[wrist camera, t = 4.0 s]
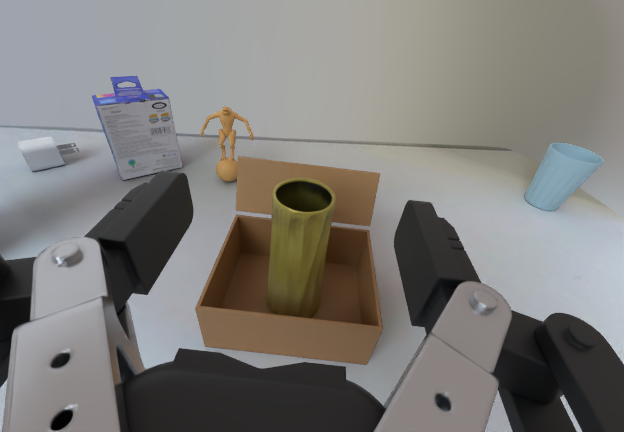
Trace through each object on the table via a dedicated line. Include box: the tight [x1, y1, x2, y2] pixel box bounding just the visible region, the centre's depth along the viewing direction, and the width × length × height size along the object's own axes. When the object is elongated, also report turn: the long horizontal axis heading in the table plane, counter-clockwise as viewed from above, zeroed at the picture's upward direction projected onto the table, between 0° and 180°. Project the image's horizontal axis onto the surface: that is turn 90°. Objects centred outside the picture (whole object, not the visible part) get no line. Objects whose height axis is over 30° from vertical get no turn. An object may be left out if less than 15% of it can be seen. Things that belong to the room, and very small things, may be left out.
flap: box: [236, 156, 380, 226], centre depth 33 cm, size 16×6×1 cm
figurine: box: [201, 107, 253, 182], centre depth 48 cm, size 8×6×12 cm
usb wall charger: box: [17, 136, 79, 172], centre depth 48 cm, size 4×7×4 cm, turn 132°
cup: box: [525, 143, 604, 211], centre depth 52 cm, size 8×8×10 cm
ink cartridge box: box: [92, 76, 183, 180], centre depth 47 cm, size 10×6×14 cm, turn 127°
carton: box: [195, 215, 383, 365], centre depth 31 cm, size 16×13×6 cm
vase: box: [266, 178, 336, 318], centre depth 28 cm, size 6×6×14 cm
